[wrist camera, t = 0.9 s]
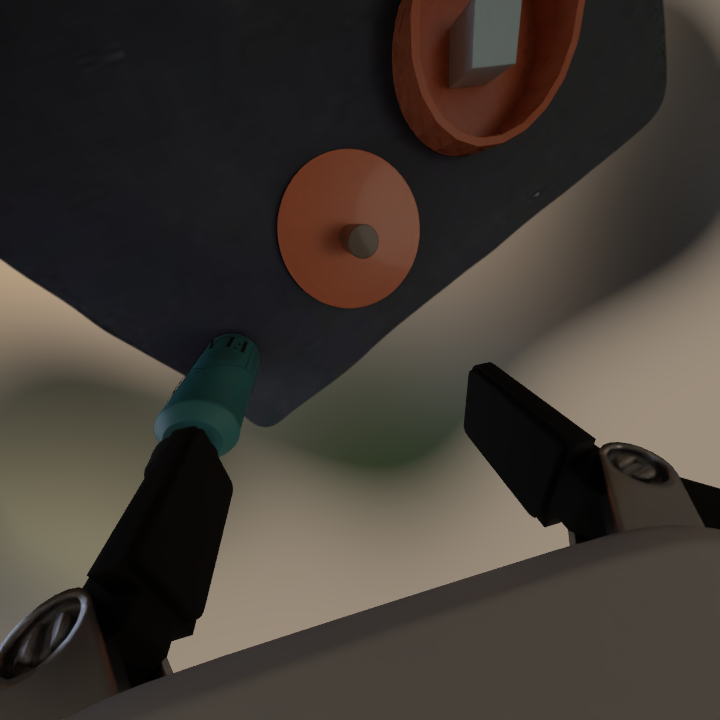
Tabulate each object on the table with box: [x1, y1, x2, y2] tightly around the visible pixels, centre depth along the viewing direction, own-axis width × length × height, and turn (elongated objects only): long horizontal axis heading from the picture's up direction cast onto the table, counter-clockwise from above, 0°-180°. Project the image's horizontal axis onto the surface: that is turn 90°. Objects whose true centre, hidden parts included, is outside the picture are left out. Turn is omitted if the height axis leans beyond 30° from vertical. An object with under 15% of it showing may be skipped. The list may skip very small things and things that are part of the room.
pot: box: [392, 0, 585, 157], centre depth 24 cm, size 15×15×5 cm
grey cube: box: [449, 0, 522, 89], centre depth 24 cm, size 4×4×4 cm
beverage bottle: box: [144, 333, 260, 478], centre depth 26 cm, size 6×7×20 cm
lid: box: [277, 149, 420, 308], centre depth 28 cm, size 16×16×7 cm
